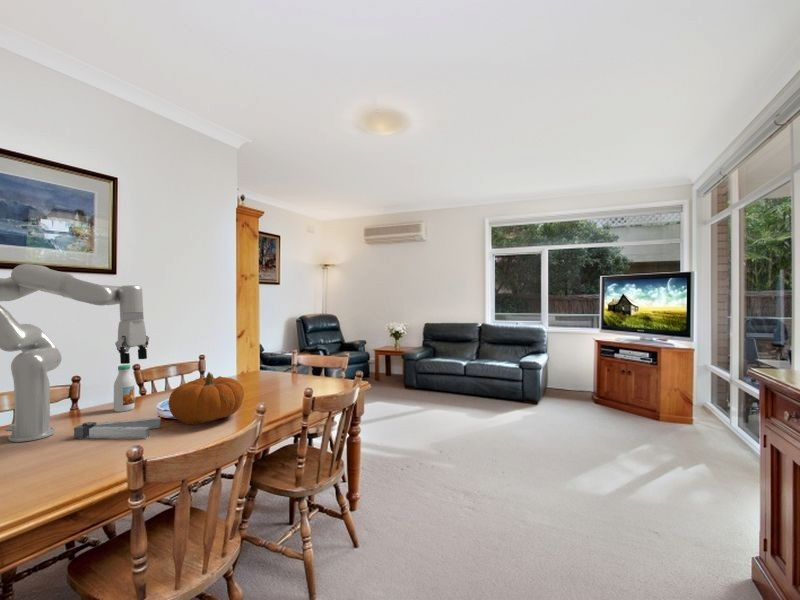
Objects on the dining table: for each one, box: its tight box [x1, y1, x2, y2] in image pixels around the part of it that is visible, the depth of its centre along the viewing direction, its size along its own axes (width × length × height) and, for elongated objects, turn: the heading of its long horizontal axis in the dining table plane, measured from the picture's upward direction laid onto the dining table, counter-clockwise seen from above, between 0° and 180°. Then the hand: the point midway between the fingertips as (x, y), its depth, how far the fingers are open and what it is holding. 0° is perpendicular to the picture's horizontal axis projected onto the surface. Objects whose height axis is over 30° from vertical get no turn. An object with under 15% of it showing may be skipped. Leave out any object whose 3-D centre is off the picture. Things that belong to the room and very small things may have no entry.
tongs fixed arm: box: [73, 421, 151, 439], centre depth 147 cm, size 26×6×5 cm, turn 90°
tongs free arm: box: [96, 416, 162, 430], centre depth 152 cm, size 20×2×4 cm, turn 112°
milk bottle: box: [113, 364, 135, 413], centre depth 180 cm, size 8×8×20 cm
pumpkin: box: [168, 371, 245, 425], centre depth 167 cm, size 28×28×20 cm
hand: (134, 361), depth 155 cm, fingers open, 9 cm apart
